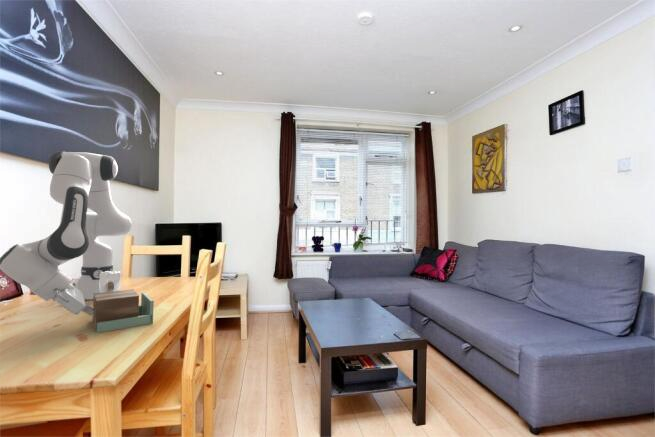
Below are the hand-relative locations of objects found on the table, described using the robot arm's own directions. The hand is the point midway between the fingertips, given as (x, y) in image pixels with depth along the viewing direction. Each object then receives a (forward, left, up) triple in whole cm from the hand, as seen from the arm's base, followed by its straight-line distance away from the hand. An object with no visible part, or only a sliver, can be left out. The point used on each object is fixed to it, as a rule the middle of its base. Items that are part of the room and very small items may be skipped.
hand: (92, 312), depth 105 cm
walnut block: (0, +7, -5) cm, 8 cm away
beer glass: (-20, +7, -5) cm, 22 cm away
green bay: (0, +9, -5) cm, 10 cm away
